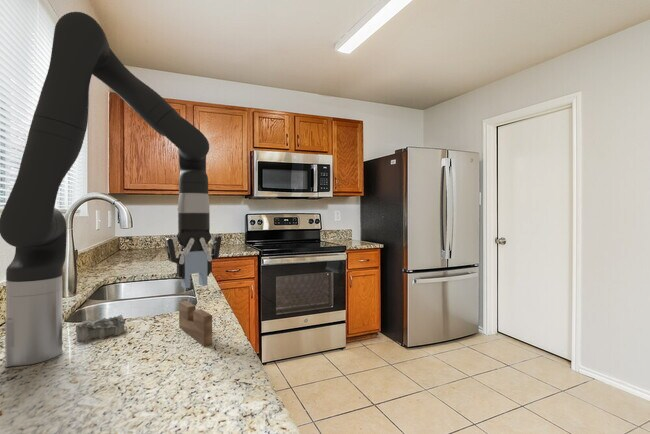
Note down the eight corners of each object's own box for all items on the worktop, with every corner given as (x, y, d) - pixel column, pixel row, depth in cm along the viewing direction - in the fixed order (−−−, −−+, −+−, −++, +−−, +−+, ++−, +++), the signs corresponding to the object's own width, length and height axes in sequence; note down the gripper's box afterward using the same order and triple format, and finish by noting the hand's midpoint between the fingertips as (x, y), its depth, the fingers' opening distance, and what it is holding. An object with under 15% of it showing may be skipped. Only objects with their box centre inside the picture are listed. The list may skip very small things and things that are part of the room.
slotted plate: (203, 346, 79) (203, 316, 79) (179, 327, 93) (179, 301, 93) (212, 344, 80) (212, 315, 80) (186, 325, 94) (186, 300, 94)
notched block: (185, 288, 83) (184, 252, 83) (181, 286, 86) (181, 251, 86) (207, 285, 87) (207, 250, 87) (203, 283, 89) (202, 249, 89)
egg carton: (74, 343, 82) (74, 326, 81) (75, 334, 88) (75, 319, 88) (125, 334, 88) (125, 318, 88) (123, 326, 94) (123, 312, 94)
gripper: (168, 211, 79) (169, 283, 79) (226, 211, 88) (227, 275, 88) (159, 211, 84) (160, 278, 84) (215, 211, 94) (215, 272, 94)
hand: (194, 276), depth 86 cm, fingers closed on notched block, 5 cm apart
